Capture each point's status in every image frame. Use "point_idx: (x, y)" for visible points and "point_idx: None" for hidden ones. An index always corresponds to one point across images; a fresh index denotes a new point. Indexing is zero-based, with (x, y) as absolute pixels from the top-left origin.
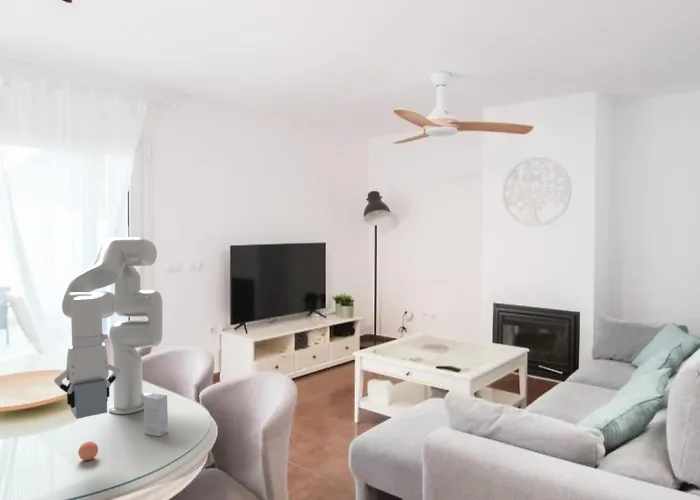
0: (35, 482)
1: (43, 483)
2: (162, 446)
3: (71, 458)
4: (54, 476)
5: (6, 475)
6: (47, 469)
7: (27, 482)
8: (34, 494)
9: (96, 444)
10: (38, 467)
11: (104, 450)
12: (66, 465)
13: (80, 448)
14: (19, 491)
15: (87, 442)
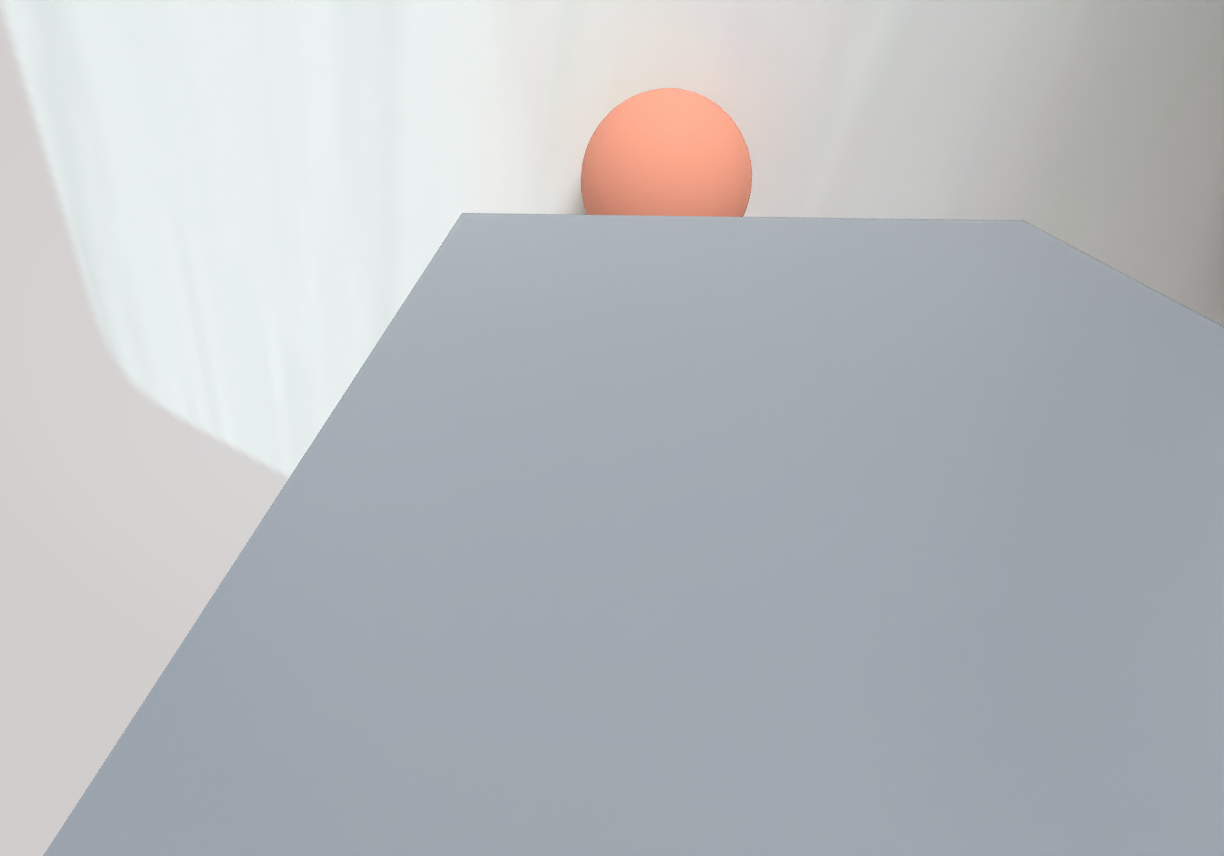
0: (277, 327)
1: (330, 372)
2: (1193, 288)
3: (541, 34)
4: (396, 312)
5: (22, 49)
6: (345, 150)
7: (223, 294)
8: (289, 477)
9: (743, 201)
10: (269, 51)
11: (830, 44)
12: (487, 169)
13: (595, 207)
14: (194, 393)
15: (665, 207)
